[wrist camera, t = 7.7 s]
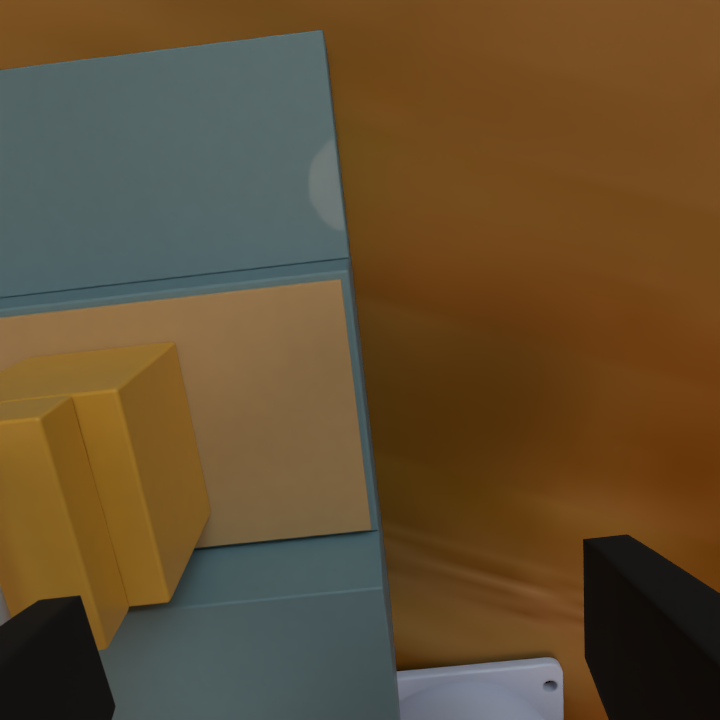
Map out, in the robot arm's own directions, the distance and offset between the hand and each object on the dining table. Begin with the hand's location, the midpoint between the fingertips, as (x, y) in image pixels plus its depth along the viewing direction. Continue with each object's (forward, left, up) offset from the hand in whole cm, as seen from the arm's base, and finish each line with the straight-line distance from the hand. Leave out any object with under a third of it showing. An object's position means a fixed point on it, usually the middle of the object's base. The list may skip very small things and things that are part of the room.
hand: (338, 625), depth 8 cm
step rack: (+1, +5, -10) cm, 12 cm away
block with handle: (+1, +5, -6) cm, 8 cm away
